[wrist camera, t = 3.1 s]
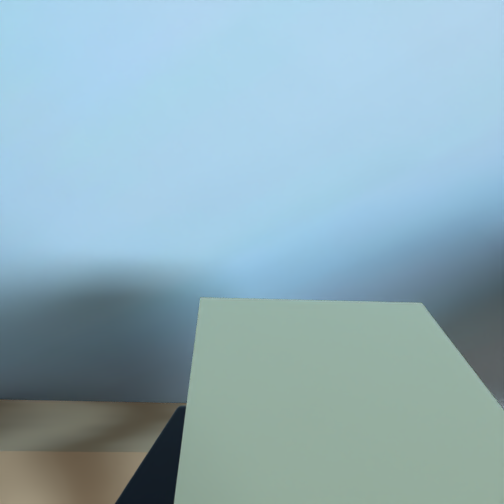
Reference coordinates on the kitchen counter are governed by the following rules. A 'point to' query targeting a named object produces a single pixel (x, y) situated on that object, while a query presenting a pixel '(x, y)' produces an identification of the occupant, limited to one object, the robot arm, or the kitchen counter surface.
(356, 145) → the kitchen counter surface
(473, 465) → the sage cube
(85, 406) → the oak block
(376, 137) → the kitchen counter surface
